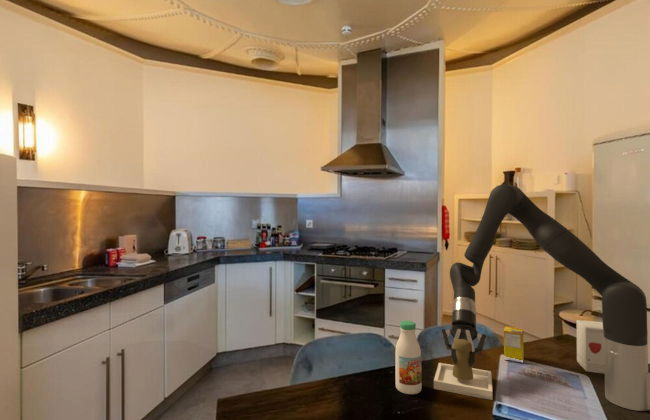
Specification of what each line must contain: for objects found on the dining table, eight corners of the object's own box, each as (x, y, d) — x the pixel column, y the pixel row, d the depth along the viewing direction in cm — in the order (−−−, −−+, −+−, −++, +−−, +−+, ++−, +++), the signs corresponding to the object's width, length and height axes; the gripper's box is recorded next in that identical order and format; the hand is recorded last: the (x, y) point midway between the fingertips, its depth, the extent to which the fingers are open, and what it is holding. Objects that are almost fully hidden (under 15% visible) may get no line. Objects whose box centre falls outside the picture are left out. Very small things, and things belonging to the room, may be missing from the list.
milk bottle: (390, 389, 103) (390, 322, 104) (403, 380, 109) (403, 317, 109) (413, 398, 98) (413, 328, 98) (426, 388, 104) (425, 322, 104)
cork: (470, 382, 102) (470, 345, 102) (449, 376, 106) (449, 341, 106) (475, 374, 107) (475, 339, 107) (455, 369, 111) (455, 335, 111)
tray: (491, 378, 109) (491, 371, 109) (492, 400, 96) (492, 391, 97) (439, 369, 116) (438, 362, 116) (433, 388, 103) (433, 380, 103)
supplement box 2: (585, 371, 114) (584, 326, 114) (576, 361, 122) (575, 319, 122) (619, 376, 111) (618, 329, 111) (607, 364, 119) (606, 321, 119)
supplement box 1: (523, 358, 125) (523, 328, 125) (523, 364, 120) (522, 333, 120) (505, 354, 128) (505, 325, 128) (504, 360, 123) (503, 330, 123)
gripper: (441, 305, 116) (437, 354, 105) (487, 310, 111) (488, 362, 99) (442, 317, 121) (439, 365, 110) (487, 322, 115) (488, 373, 104)
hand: (462, 363), depth 105 cm, fingers closed on cork, 4 cm apart
